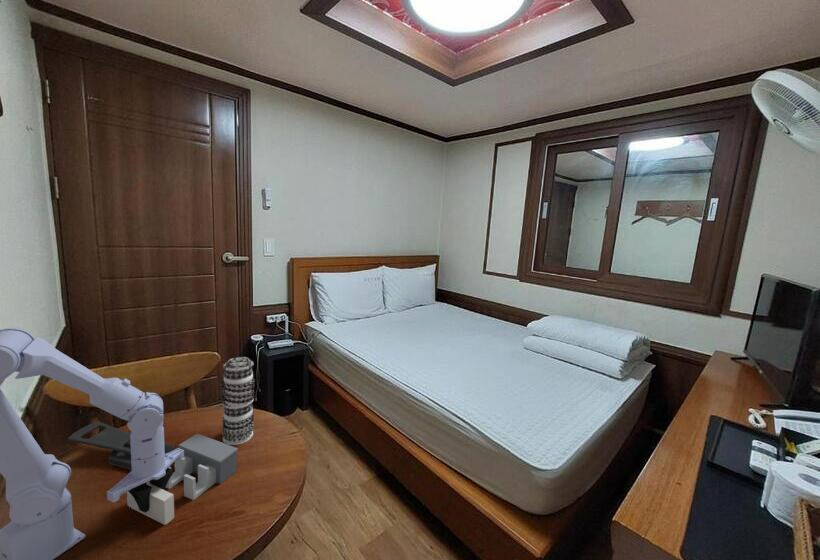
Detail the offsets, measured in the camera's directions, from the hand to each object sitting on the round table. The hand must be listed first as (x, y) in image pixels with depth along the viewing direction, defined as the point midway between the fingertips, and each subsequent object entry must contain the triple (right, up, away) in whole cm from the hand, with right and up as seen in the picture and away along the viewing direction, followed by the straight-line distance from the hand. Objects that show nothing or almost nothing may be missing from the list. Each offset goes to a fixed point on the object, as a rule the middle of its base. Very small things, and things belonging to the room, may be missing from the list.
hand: (150, 505), depth 74 cm
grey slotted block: (+4, 0, +11) cm, 12 cm away
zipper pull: (-20, +2, +16) cm, 25 cm away
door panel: (0, -2, 0) cm, 2 cm away
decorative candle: (+5, +2, +28) cm, 28 cm away
